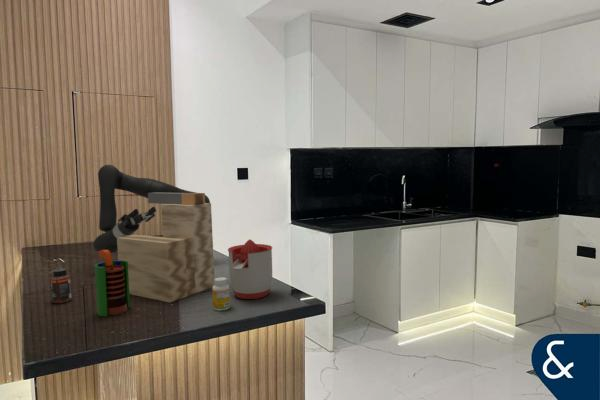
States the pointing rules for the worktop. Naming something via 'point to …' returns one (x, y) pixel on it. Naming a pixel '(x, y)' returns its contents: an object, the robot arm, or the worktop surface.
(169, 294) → the stand
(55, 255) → the worktop surface
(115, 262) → the motor
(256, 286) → the citrus juicer
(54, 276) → the supplement bottle
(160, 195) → the grey and tan bar
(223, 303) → the supplement bottle
